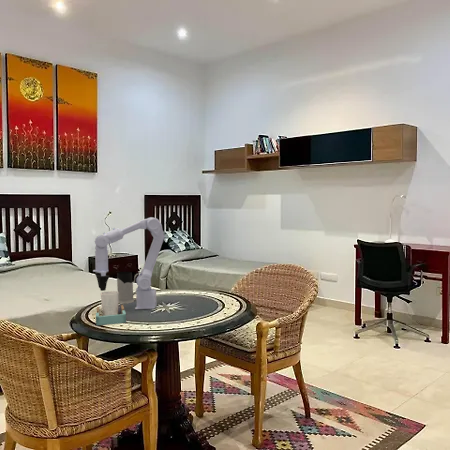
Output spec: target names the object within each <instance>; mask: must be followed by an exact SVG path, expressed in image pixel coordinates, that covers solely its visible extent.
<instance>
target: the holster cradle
mask: <svg viewBox="0 0 450 450" xmlns="http://www.w3.org/2000/svg"><path fill="white" fill-rule="evenodd" d="M120 310H121V311H120V312H121V313H122V310H125V307H124V304H120ZM96 313H99V314H100V306H96Z"/></svg>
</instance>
